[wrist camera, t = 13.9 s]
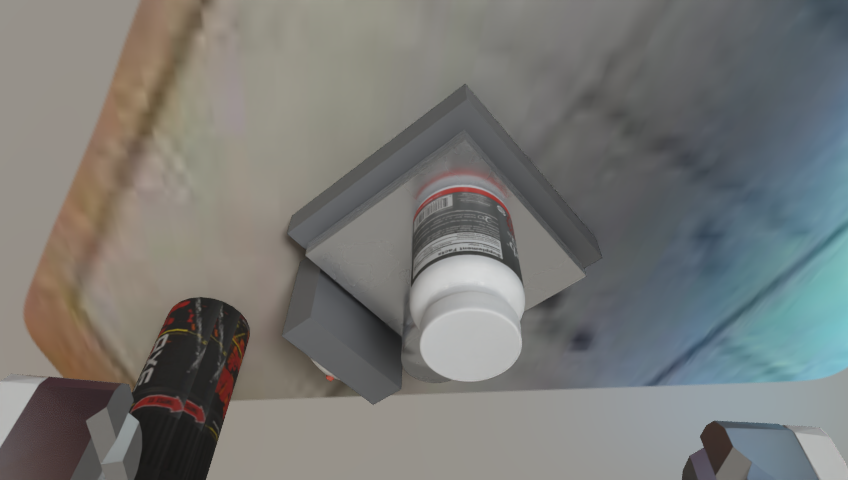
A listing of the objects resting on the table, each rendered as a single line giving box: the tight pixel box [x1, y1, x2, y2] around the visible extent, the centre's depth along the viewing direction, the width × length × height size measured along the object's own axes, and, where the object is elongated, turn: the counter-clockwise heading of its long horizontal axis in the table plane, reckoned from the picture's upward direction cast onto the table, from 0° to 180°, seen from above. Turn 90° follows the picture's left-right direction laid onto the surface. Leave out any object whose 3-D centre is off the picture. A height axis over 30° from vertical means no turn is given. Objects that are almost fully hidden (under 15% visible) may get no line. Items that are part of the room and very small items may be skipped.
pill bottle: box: [409, 185, 525, 382], centre depth 34 cm, size 6×6×10 cm
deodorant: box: [128, 297, 250, 480], centre depth 43 cm, size 6×6×15 cm
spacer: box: [401, 300, 452, 383], centre depth 41 cm, size 4×4×4 cm
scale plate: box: [305, 130, 586, 337], centre depth 40 cm, size 12×12×1 cm
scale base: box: [282, 84, 602, 404], centre depth 41 cm, size 17×14×7 cm
